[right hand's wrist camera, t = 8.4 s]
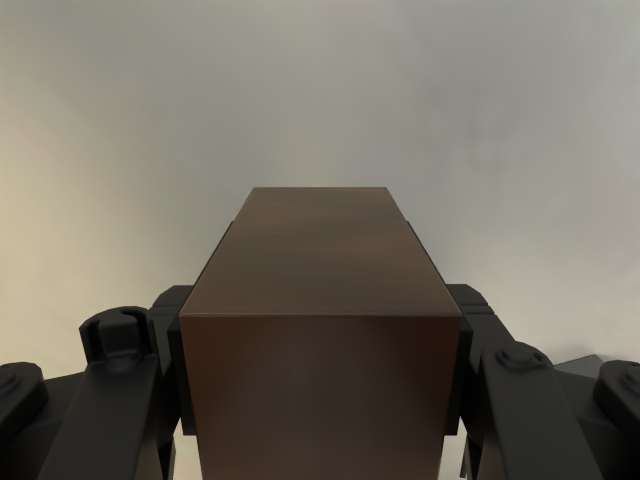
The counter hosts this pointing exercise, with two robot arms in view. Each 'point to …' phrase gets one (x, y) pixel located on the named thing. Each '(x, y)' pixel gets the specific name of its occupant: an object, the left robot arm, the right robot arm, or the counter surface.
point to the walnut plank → (320, 342)
